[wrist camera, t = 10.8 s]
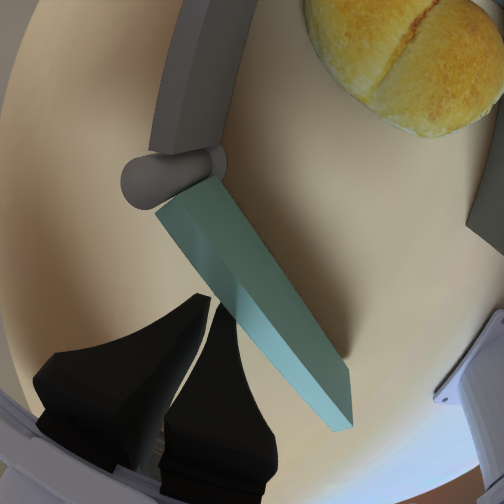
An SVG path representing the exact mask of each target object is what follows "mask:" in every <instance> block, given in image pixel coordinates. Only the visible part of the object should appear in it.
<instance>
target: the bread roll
mask: <svg viewBox="0 0 504 504" xmlns="http://www.w3.org/2000/svg"><path fill="white" fill-rule="evenodd" d="M304 13H305V20H306V25H307V31H308V34H309V35H310V39H311V42H312V45H313V47H314V49H315V51H316V53H317V54H318V55H317V56H318V57H319V58H320V60H321V61H322V63H323V64H324V66H325V68H326V69H327V71H328V73H329V74H330V75H332V78H333V79H334V80H335V81H336V82H337V84H338V85H339V86H340V87H341V88H342V89H343V90H344V91H346V92H347V93H349V94H350V95H351V96H352V97H354V98H356V99H357V100H358V101H360V102H362V103H363V104H364V105H365V106H366V107H367V108H368V109H370V110H371V111H372V112H373V113H374V114H375V115H376V116H377V117H379V118H380V119H382V120H383V121H385V122H386V123H388V124H390V125H392V126H394V127H396V128H398V129H400V130H402V131H404V132H406V133H409V134H412V135H415V136H418V137H421V138H425V139H436V138H441V137H444V136H446V135H450V134H453V133H456V132H457V131H458V130H459V129H461V128H464V127H466V126H467V125H470V124H471V123H473V122H475V121H478V120H480V119H481V118H482V117H483V116H485V115H486V114H488V113H489V112H490V110H491V108H492V105H494V104H496V102H497V101H498V100H499V98H500V97H501V95H502V94H503V93H504V42H503V40H502V38H501V35H500V33H499V31H498V28H497V26H496V25H495V23H494V22H493V20H492V19H491V17H490V16H489V15H488V14H487V13H486V12H485V11H484V10H483V9H482V8H481V7H479V6H478V5H476V4H475V3H474V2H472V1H471V0H305V1H304Z"/></svg>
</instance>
